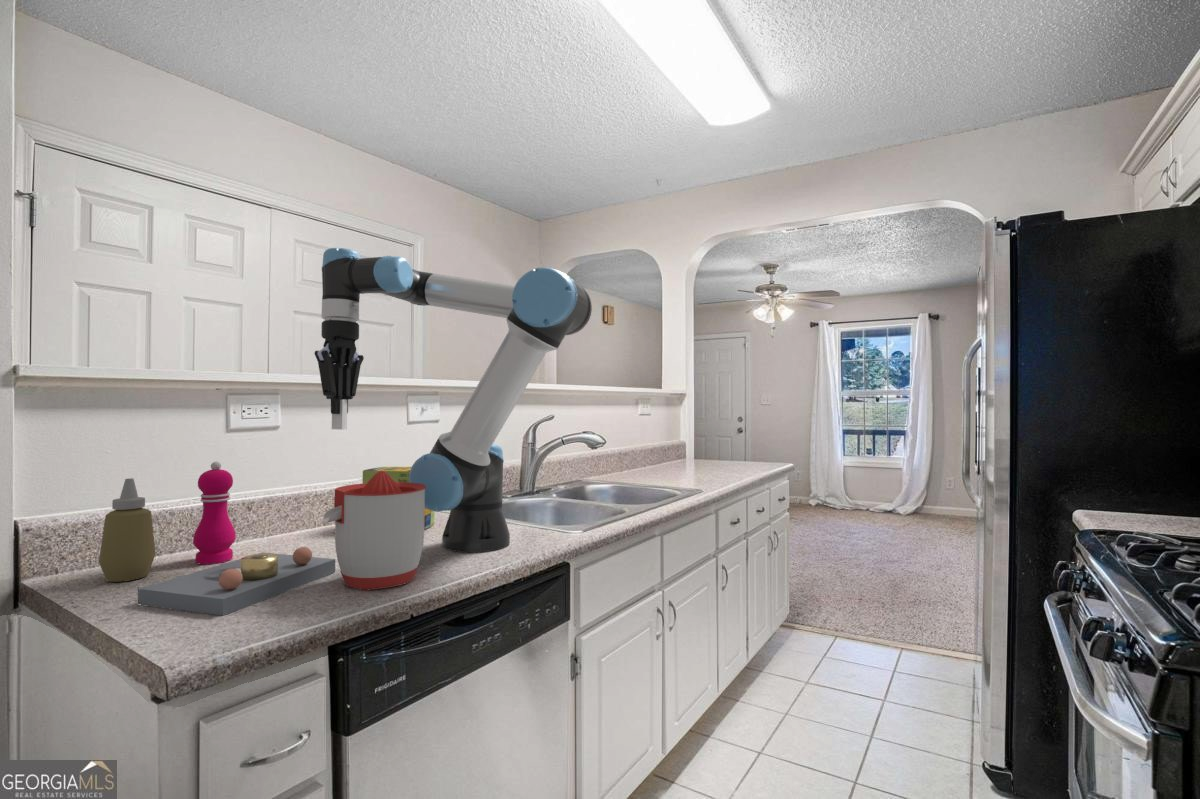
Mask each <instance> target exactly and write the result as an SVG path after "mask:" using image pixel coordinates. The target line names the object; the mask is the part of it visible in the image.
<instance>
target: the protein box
mask: <svg viewBox="0 0 1200 799" xmlns="http://www.w3.org/2000/svg"><path fill="white" fill-rule="evenodd" d="M411 467H412V466H377V467H372V468H367V469H364V470H363V469H362V483H368V482H369V480H370V479H371V478H372V477H373V476H374V475H375V474H376V473H378V472H379V471H381V470H382V471H384V472H386V473H387V474H388V475H389V476H390V477H391V478H392V479H393V480H394V481H395V482H409V474H410V470H411ZM435 512H436V511H431V510H428V509H426V508H425V509H424V530H425V531H426V530H428V529H430V528H432V527H433V525H434V524H435V519H436V518H435ZM431 526H432V527H431ZM434 526H435V525H434Z"/></svg>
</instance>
